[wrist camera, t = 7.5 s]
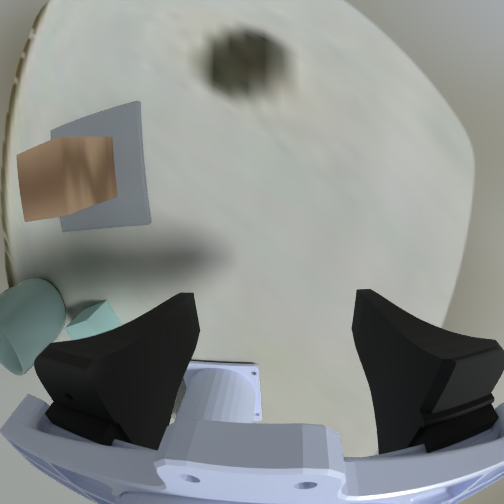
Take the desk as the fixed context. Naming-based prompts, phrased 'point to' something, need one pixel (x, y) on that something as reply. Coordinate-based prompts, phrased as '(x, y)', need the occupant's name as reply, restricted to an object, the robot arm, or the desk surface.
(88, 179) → the walnut block
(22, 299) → the cup
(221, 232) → the desk surface
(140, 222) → the slate coaster
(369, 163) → the desk surface
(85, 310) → the teal block
